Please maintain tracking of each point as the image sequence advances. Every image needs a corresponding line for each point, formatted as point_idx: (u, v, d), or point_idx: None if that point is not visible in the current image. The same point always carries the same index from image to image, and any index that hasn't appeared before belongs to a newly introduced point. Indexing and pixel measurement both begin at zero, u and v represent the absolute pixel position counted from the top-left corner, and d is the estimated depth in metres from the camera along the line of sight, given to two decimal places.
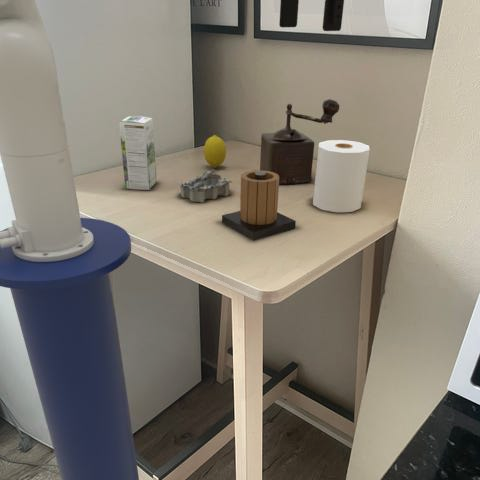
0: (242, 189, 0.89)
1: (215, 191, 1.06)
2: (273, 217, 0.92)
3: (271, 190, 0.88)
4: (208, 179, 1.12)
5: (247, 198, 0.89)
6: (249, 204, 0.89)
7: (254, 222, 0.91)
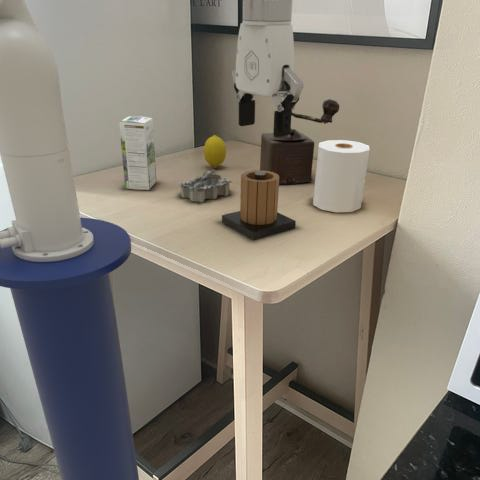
0: (242, 189, 0.89)
1: (215, 191, 1.06)
2: (273, 217, 0.92)
3: (271, 190, 0.88)
4: (208, 179, 1.12)
5: (247, 198, 0.89)
6: (249, 204, 0.89)
7: (254, 222, 0.91)
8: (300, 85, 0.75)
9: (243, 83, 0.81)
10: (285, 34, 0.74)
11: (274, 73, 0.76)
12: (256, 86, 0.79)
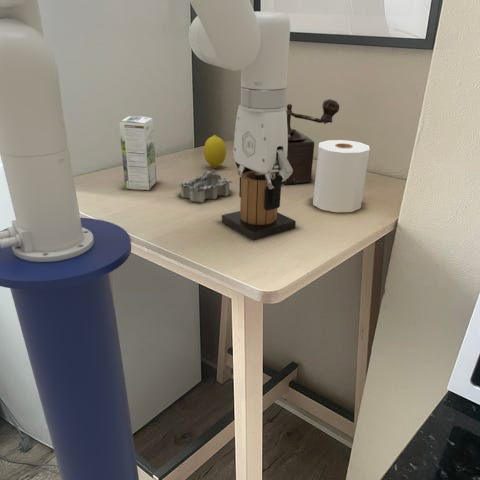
0: (242, 189, 0.89)
1: (215, 191, 1.06)
2: (273, 217, 0.92)
3: None
4: (208, 179, 1.12)
5: (247, 198, 0.89)
6: (249, 204, 0.89)
7: (254, 222, 0.91)
8: (290, 172, 0.83)
9: (240, 158, 0.88)
10: (279, 119, 0.81)
11: (269, 153, 0.82)
12: (252, 162, 0.85)
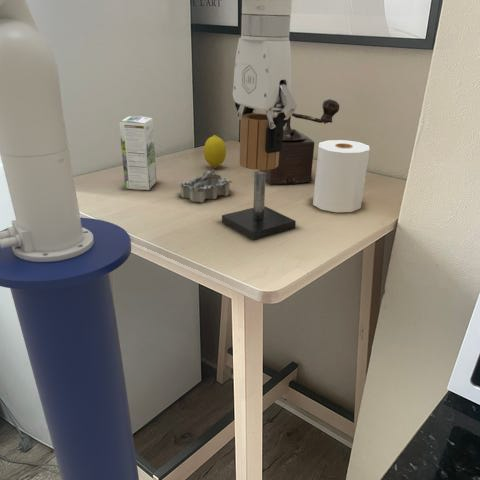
0: (242, 131, 0.84)
1: (215, 191, 1.06)
2: (274, 162, 0.86)
3: None
4: (208, 179, 1.12)
5: (247, 139, 0.83)
6: (249, 147, 0.84)
7: (254, 167, 0.85)
8: (293, 107, 0.77)
9: (240, 96, 0.82)
10: (283, 49, 0.75)
11: (272, 87, 0.77)
12: (253, 99, 0.80)
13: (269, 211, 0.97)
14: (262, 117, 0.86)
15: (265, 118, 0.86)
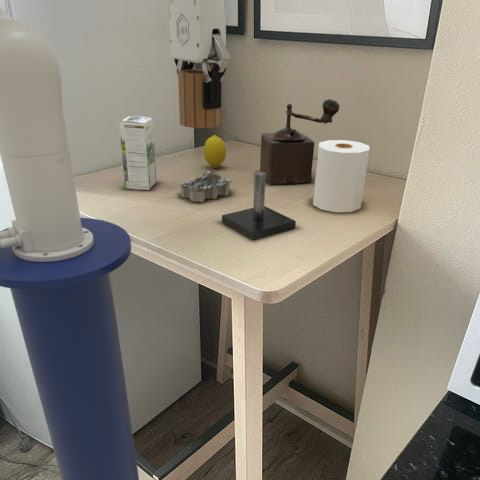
0: (179, 86, 0.80)
1: (215, 191, 1.06)
2: (215, 120, 0.82)
3: None
4: (208, 179, 1.12)
5: (184, 95, 0.80)
6: (186, 103, 0.80)
7: (193, 125, 0.81)
8: (227, 58, 0.73)
9: (176, 49, 0.79)
10: None
11: (204, 36, 0.73)
12: (187, 51, 0.76)
13: (269, 211, 0.97)
14: (202, 73, 0.82)
15: None
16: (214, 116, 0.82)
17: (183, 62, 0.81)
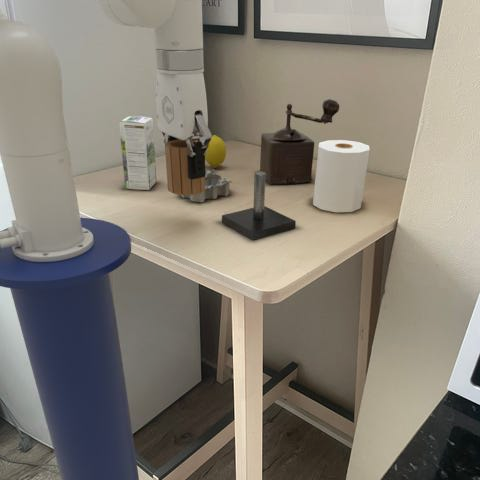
0: (166, 158, 0.87)
1: (215, 191, 1.06)
2: (200, 187, 0.89)
3: None
4: (208, 179, 1.12)
5: (170, 166, 0.86)
6: (173, 173, 0.87)
7: (180, 192, 0.88)
8: (208, 137, 0.80)
9: (162, 125, 0.85)
10: (195, 82, 0.78)
11: (187, 118, 0.79)
12: (173, 129, 0.83)
13: (269, 211, 0.97)
14: None
15: None
16: (199, 183, 0.88)
17: (169, 134, 0.87)
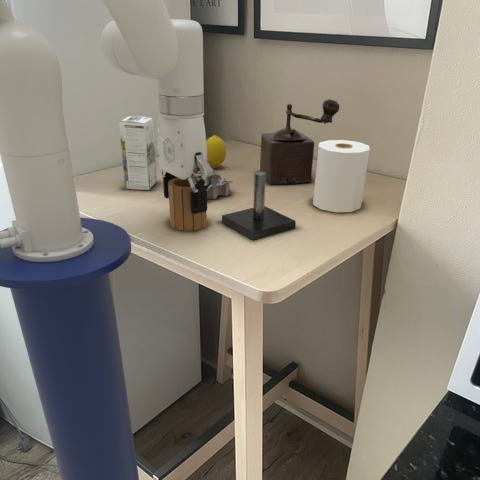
0: (169, 195, 0.90)
1: (215, 191, 1.06)
2: (201, 223, 0.92)
3: None
4: None
5: (173, 204, 0.90)
6: (176, 210, 0.90)
7: (182, 228, 0.92)
8: (210, 172, 0.82)
9: (163, 164, 0.88)
10: (196, 126, 0.81)
11: (187, 160, 0.83)
12: (173, 168, 0.86)
13: (269, 211, 0.97)
14: None
15: None
16: (201, 220, 0.92)
17: None
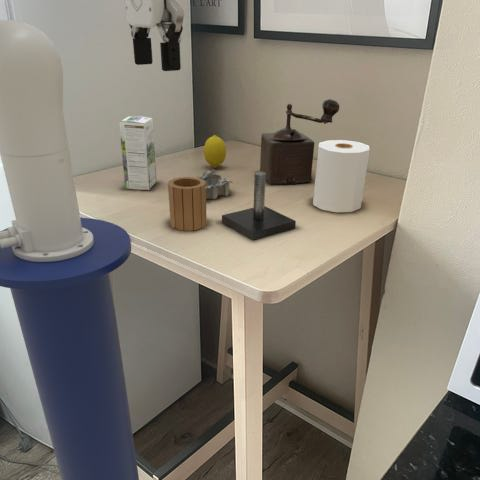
0: (169, 195, 0.90)
1: (215, 191, 1.06)
2: (201, 223, 0.92)
3: (197, 196, 0.89)
4: (208, 179, 1.12)
5: (173, 204, 0.90)
6: (176, 210, 0.90)
7: (182, 228, 0.92)
8: (180, 12, 0.74)
9: (131, 16, 0.80)
10: None
11: (155, 0, 0.74)
12: (141, 16, 0.77)
13: (269, 211, 0.97)
14: (189, 181, 0.93)
15: (192, 182, 0.93)
16: (201, 220, 0.92)
17: (137, 26, 0.83)
